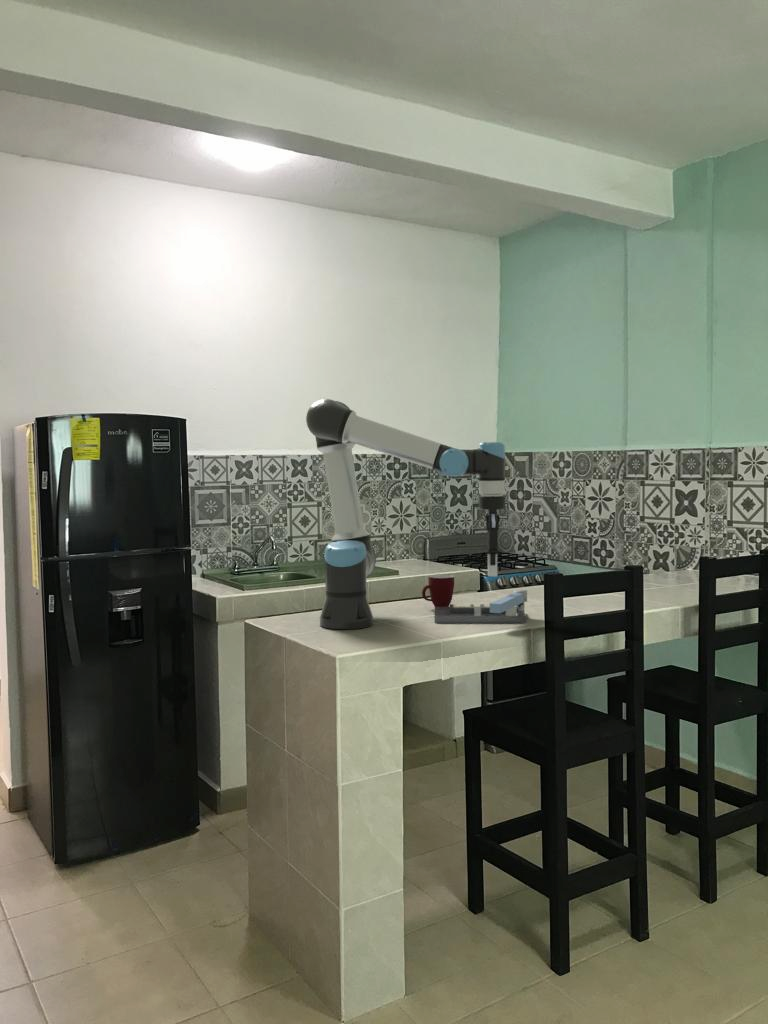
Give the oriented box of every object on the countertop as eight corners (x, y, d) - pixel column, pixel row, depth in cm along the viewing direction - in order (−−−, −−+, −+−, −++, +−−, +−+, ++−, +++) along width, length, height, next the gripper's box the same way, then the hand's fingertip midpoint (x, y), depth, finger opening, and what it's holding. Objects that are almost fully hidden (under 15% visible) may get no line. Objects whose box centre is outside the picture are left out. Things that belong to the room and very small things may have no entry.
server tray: (434, 622, 240) (434, 607, 240) (434, 613, 255) (434, 598, 255) (527, 622, 238) (527, 607, 238) (521, 613, 253) (521, 598, 253)
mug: (430, 611, 257) (430, 579, 257) (417, 608, 264) (416, 576, 264) (459, 608, 262) (459, 576, 262) (445, 604, 269) (445, 573, 269)
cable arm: (515, 599, 248) (515, 589, 248) (529, 600, 246) (528, 590, 246) (487, 612, 228) (487, 601, 228) (501, 613, 226) (501, 602, 226)
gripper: (506, 496, 237) (507, 579, 239) (503, 494, 250) (503, 572, 252) (480, 496, 238) (480, 579, 239) (478, 494, 251) (478, 573, 252)
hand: (492, 575), depth 246 cm, fingers closed
